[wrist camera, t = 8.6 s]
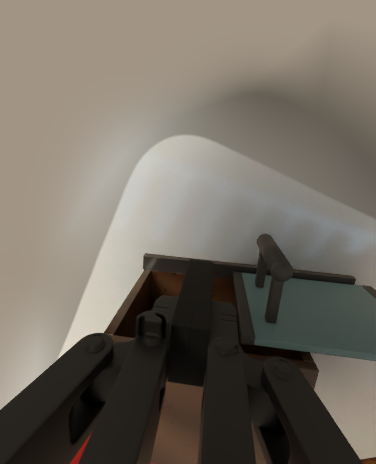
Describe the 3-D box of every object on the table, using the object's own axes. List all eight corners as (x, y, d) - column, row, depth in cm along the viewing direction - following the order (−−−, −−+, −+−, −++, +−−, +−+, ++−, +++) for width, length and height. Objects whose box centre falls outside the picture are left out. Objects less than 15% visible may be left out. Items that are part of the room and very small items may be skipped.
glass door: (238, 225, 29) (252, 268, 18) (384, 239, 27) (496, 294, 16) (232, 276, 30) (240, 344, 19) (369, 291, 29) (460, 373, 18)
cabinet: (145, 253, 32) (95, 320, 19) (352, 275, 30) (457, 367, 17) (142, 345, 36) (99, 454, 22) (326, 370, 34) (396, 506, 21)
